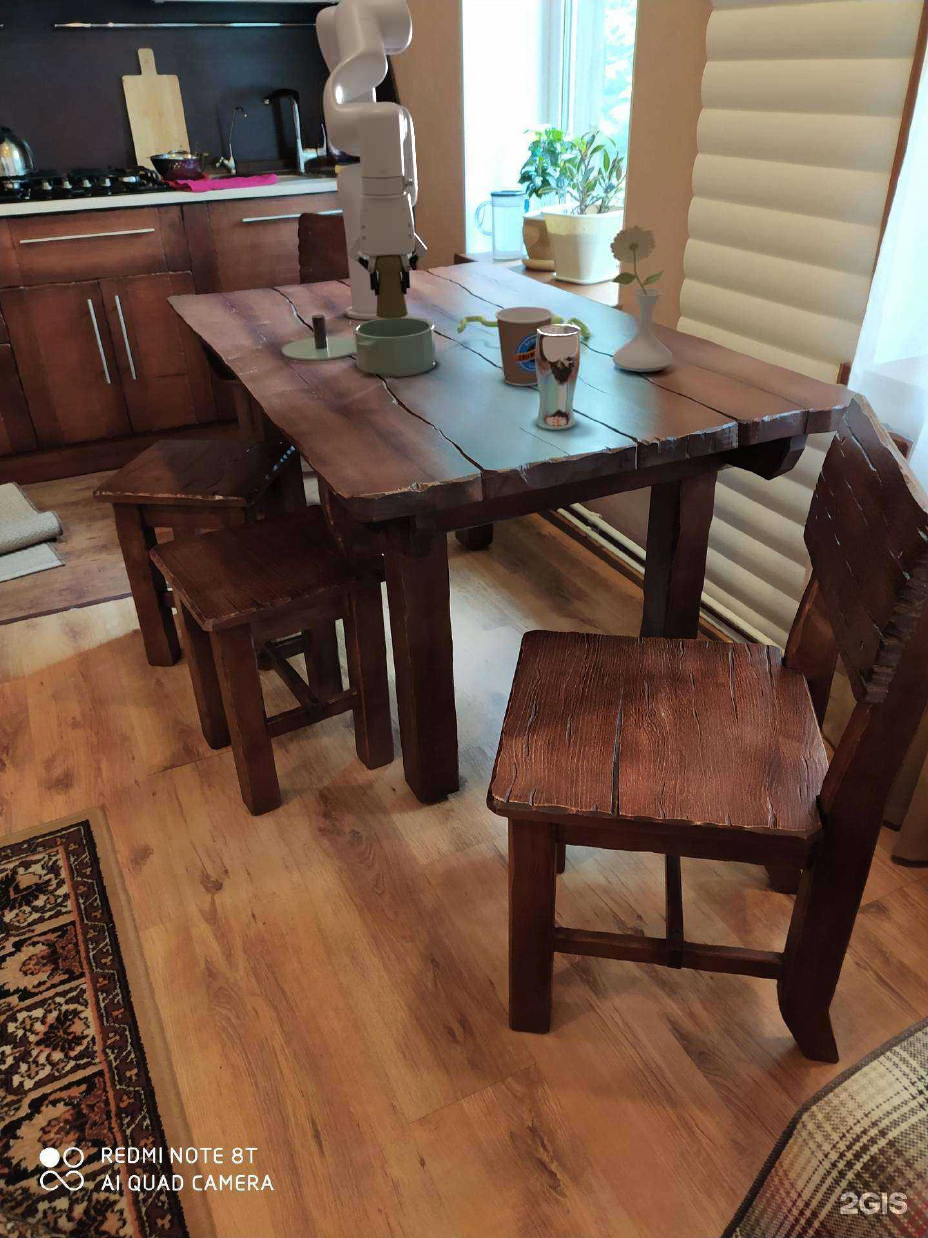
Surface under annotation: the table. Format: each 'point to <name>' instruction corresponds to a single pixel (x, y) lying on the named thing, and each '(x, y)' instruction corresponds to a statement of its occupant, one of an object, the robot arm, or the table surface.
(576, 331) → the beer glass
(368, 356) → the pot
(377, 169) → the robot arm
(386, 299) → the cork
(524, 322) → the coffee cup
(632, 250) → the flower in vase
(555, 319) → the figurine
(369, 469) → the table surface
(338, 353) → the lid
